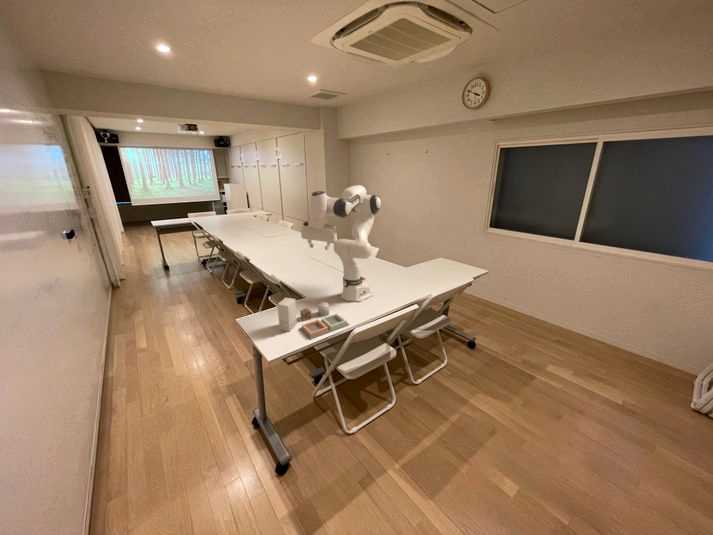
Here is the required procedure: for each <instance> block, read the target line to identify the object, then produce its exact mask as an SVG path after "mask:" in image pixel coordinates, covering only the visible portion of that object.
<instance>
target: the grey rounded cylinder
mask: <svg viewBox="0 0 713 535" xmlns="http://www.w3.org/2000/svg"><path fill="white" fill-rule="evenodd" d="M317 312H318V314H317V315H318V316H319V317H327V316H330V304H329V302H327V301H321V302H318V304H317Z"/></svg>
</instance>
